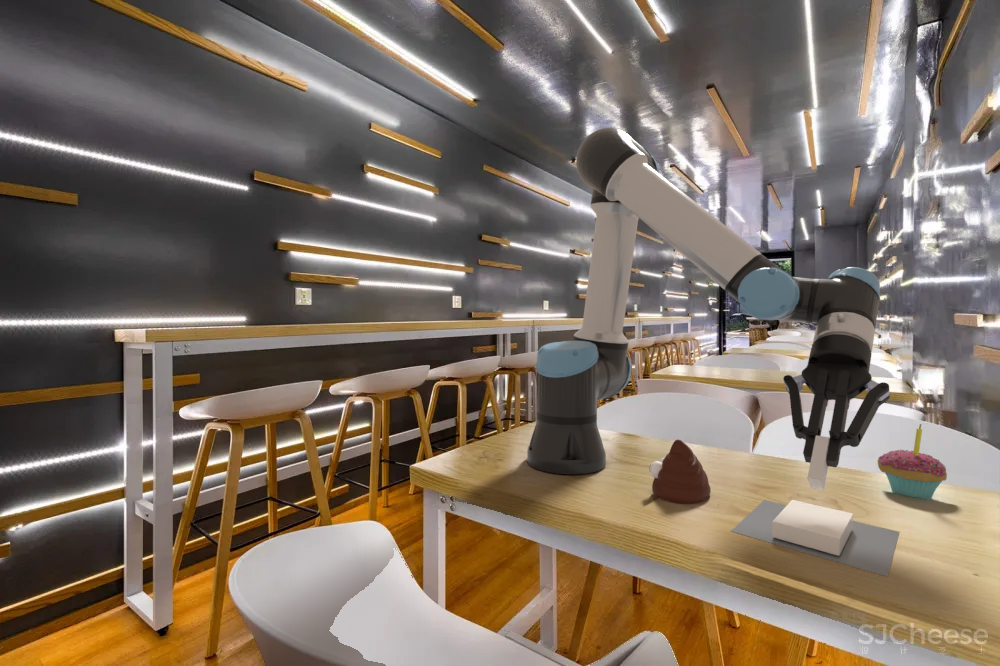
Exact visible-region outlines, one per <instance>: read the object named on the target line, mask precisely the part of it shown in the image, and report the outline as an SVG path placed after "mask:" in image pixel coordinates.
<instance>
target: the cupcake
mask: <svg viewBox="0 0 1000 666" xmlns="http://www.w3.org/2000/svg"><path fill="white" fill-rule="evenodd" d="M922 434H923V428H922V423H920V424H919V427H917V428H916V432H915V438H914V447H913V450H908V449H907V450H903V449H900V450H899V449H897V450H891V451H888V452H886V453H883V454H882V455H880V456H878V458H877V466H878V469H879V470H880V471H881V472H882V473H884V474H885V475H886V478H887V480H888V483H889V485H890V486H889V487H890V489H891V492H892V493H893V494H897V495H902V496H905V497H906V496H907V497H912V498H917V499H922V500H928V501H931V500H932V498H933V496H934V493H935V492H936V490H938V489H937V488H938V487H939V486H940V484H941V483H942V482H943V481H946V480H947V479H948V474H947V468H946V466H945V465H944V463H942V462H940V459H937V458H935V457H933V456H932V455H930V454H928V453H927V454H925V453H924V452H923V453H920V447H921V441H922Z"/></svg>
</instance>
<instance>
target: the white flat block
mask: <svg viewBox="0 0 1000 666" xmlns="http://www.w3.org/2000/svg"><path fill="white" fill-rule="evenodd" d="M786 505H787V506H786V507H785V508H784V509H783V510H782V511H781V512H780V514H779V515H778V516H777V517H776V518H775V519H774V520H773V521H772V537H774V538H778V539H781V540H785V541H788V542H792V543H795V544H799V545H802V546H806V547H809V548H813V549H816V550H820V551H824V552H827V553H831V554H834V555H838V556H839V555H840V553H841V551H842V549H843V547H844V545H845V543H846V541H847V539H848V537H849V535H850V533H851V531H852V529H853V521H854V513H853V512H848V511H844V510H840V509H834V508H831V507H827V506H823V505H822V506H820V505H817V504H814V503H813V504H812V503H809V502H804V501H800V500H795V499H791V500H790V501H789V502H788V504H786Z"/></svg>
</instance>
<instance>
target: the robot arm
mask: <svg viewBox="0 0 1000 666" xmlns="http://www.w3.org/2000/svg"><path fill="white" fill-rule="evenodd" d="M575 157H576V159H575V161H576V162H575V165H576V170H577V174H578V176H579V177H580V179H581V181H582V182H583V183H584V184H585V185H586V186H587V187H589V188H590V189H592V193H591V201H590V208H591V210H592V211H593V212H594V213H595V216H596V218H595V226H594V233H593V239H592V240H593V241H592V248H591V257H590V264H589V272H588V279H587V287H586V296H585V303H584V309H583V310H584V311H583V319H582V326H581V328H579V330H577V331H576V332H574V334H573V340H563V341H555V342H550V343H545V344H544V345H542V346H540V347H539V348H538V351H537V353H536V355H537V356H536V363H535V370H536V371H535V374H536V422H535V427H534V429H533V432H532V434H531V435H532V436H531V438H530V441H529V445H528V447H527V454H526V457H527V458H526V460H527V461H526V462H527V463H528V465H529V466H530V467H531V468H533V469H536V470H538V471H542V472H546V473H549V474H560V475H582V474H583V475H584V474H592V473H595V472H599V471H601V470H603V469H605V467H606V464H607V463H606V462H607V460H606V457H607V455H606V453H607V452H606V450H605V447H604V444H603V440H602V436H601V433H600V431H599V426H598V401H601V400H606V399H610V398H612V397H614V396H615V395H617V394H619V393H620V392H621V391H622V390H624V388H625V387H627V385H628V383H629V382H630V379H631V375H632V363H631V359H630V357H629V356H628V347H629V340H628V338H627V337H626V336H625V335H624V333H623V330H624V323H625V316H626V310H627V302H628V295H629V289H630V288H629V287H630V283H631V282H630V281H631V274H632V273H631V272H632V265H633V259H634V252H635V246H636V237H637V231H638V224H639V223H638V222H639V219H640V220H641V221H642V222H643V223H645V224H646V225H647V226H648V227H649V228H650V229H651V230H653V231H654V232H655V233H656V234H658V236H660V237H661V238H663V240H665V241H666V242H667V243H668V244H669V245H671V246H672V247H673V248H674V249H676V251H678V252H679V253H680V254H682V255H683V256H684V257H685V258H686V259H687V260H689V261H690V262H691V263H692V264H693V265H695V267H697V268H698V269H699V270H700V271H702V272H703V273H704V274H705V275H706V276H708V277H709V278H710V279H711V280H712V281H713V282H714V283H716V284H717V285H718V286H719V287H721V288H722V289H723V290H724V291H725V292H726V293H727V294H728V295H730V297H732V298H733V299H734V300H736V301H737V302H738V303H739V305H740V306H739V307H740V311H741V313H742V314H743V315H745V316H750V317H753V318H755V319H756V320H761V321H777V320H781V321H788V322H789V321H790V322H791V321H792V322H798V323H799V322H800V323H807V324H814V325H815V324H816V326H815V330H814V335H813V339H812V344H811V348H810V352H809V356H808V361H807V365H806V367H805V368H804V369H803V370H802V371H801V374H798V375H795V376H792V375H789V374H786V375H784V376H783V382H784V386H785V390H786V391H787V394H789V402H790V410H791V420H792V427H793V431H794V434H795V437H796V438H797V439H800V440H802V439H803V440H805V442H804V447H803V452H802V454H803V457H804V461H805V463H809V466H808V467H809V468H808V471H807V472H808V473H807V481H808V485H809V488H810V489H811V490H817V491H822V492H824V490H825V486H826V480H827V475H828V469H829V467H830V468H831V467H832V468H837V467H838V466H839V463H840V457H841V451H842V448H844V447H846V446H849V447H851V448H857V447H859V445H860V443H861V442H862V440H863V439H864V436H865V434H866V432H867V430H869V429H868V428H869V427H870V425H871V424H872V423H871V422H872V421H873V419H874V417H875V415H876V414H877V411H878V409H879V408H880V406H881V405H883V404H884V403H886V402H888V400H890V398H891V395H890V394H891V393H890V384H889V383H887V382H876V381H875V380H872V378H873V376H872V374H871V373H870V366H871V361H872V360H871V359H872V352H873V348H874V347H873V346H874V340H875V334H876V325H877V318H878V314H879V313H878V312H879V305H880V301H881V296H880V293H881V292H880V291H881V285H880V280H879V278H878V277H877V276H876V275H875V274H874V273H873V272H872V271H870V270H867V269H865V268H862V267H855V266H849V267H846V268H842V269H837V270H835V271H833V272H832V273H831V274H829V276H828V278H809V277H806V278H805V277H796V276H792V275H791V274H790V273H788V272H787V271H785V270H783V269H782V268H781V267H779V266H778V265H776V263H774V262H773V261H771V260H770V259H769V258H767V257H766V256H765V255H763V254H762V253H761V252H760V251H759V250H757V249H756V248H755V247H754V246H752V245H751V244H750V243H748V242H747V241H746V240H745V239H743V238H742V237H741V236H739V235H738V234H737V233H735V232H734V231H733V230H732V229H730V228H729V227H728V226H727V225H726V224H724V223H723V222H722V221H720V219H718V218H716V217H715V216H714V215H712V214H711V213H710V212H709V211H707V210H706V209H705V208H704V207H702V206H701V205H699V204H698V203H697V202H696V201H695V200H693V198H691V197H690V196H689V195H687V194H686V193H684V192H683V191H682V190H680V189H679V188H678V187H677V186H675V185H674V184H673V183H672V182H670V181H669V180H668V179H666V177H664V176H663V175H662V174H660V171H659V166H658V163H657V161H656V159H655V157H654V156H653V155H652V153H651V152H650V151H649V150H648V149H647V148H646V147H644V146H642V145H641V144H640V143H638V142H637V141H636V140H634V138H632V136H631V135H629V134H628V133H626V132H625V131H624V130H622V129H618V128H616V127H615V128H614V127H603V128H600V129H596V130H595V131H593V132H590V134H589V135H587V136H586V137H585V139H583V141H582V143H581V144H580V145H579V148H578V150H577V154H576V156H575ZM804 384H805V386H806V387H807V388H808V389H809V390H810V391H811V393H812V394H813V400H812V406H811V410H810V415H809V418H808V422H807V423H808V424H807V425H805V422H804V415H803V406H802V405H803V404H802V398H801V394H800V393H801V392H802V391H803V389H804V387H803V385H804ZM865 391H866V395H865V397H864V398H863V401H862V402H861V405H859V407H858V410H857V411H856V413H855V416H854V417H853V418H852V421H851V423H850V424H849V426H848V427H847V430H845V429H846V425H847V424H846V423H847V419H848V418H847V417H848V413H849V412H848V411H849V408H850V402H851V400H853V399H854V398H856V397H858V396H859V395H860V394H862V393H864V392H865ZM832 400H833V401H834V405H833V412H832V417H831V424H830V429H829V430H828V434H829V436H822V430H823V425H824V422H825V421H824V419H825V415H826V410H827V407H828V405H829V401H832Z"/></svg>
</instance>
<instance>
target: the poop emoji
mask: <svg viewBox="0 0 1000 666" xmlns="http://www.w3.org/2000/svg"><path fill="white" fill-rule="evenodd" d="M649 473H650V475H651V477H653V478H654V479H653V481H652V485H651V486H652V487H651V491H652V494H653V496H654V497H655V498H656V500H658V499H659V500H662V501H665V502H668V503H673V504H678V505H679V504H680V505H693V504H699V503H702V502H703V501H704V500H705V499H708V498H709V497H710V495H711V492H712V491H711V489H712V488H711V485H710V484H709V483H710V482H709V479H708V475H707V473H706V471H705V470H704V468H703V465H702V463H701V462H700V460H699V458H697V456H696V455H695V454H694V452H693V450H692V449H691V448H690V447H689V446H688V445H687V443H685V442H684V441H682V440H681V439H676V440H675V439H674V441H673V443H672V445H671V447H670V449H669V452H668V453H667V454H666V456H664V457H662V458H660V459H659V461H658V460H655V461H652V463H651V464H650V465H649Z"/></svg>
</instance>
